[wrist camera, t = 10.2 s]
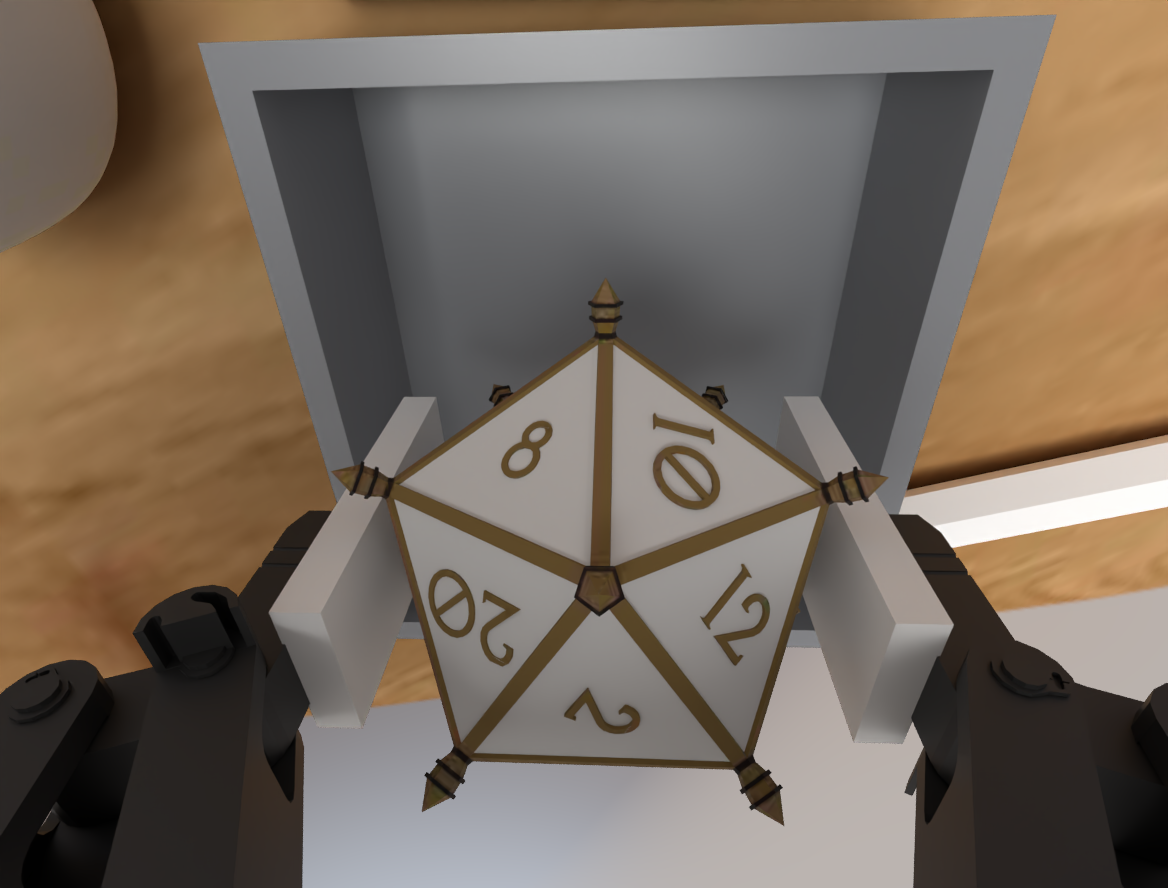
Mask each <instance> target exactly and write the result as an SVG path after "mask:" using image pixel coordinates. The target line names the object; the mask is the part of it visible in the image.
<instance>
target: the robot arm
mask: <svg viewBox="0 0 1168 888" xmlns="http://www.w3.org/2000/svg"><path fill="white" fill-rule="evenodd" d="M442 443H444V439H443V433H442V427H441V421H440V416H439V410H438V404H437V398H436V397H404V398H403V400H402V401H401V403H400V404H399V406H398V408H397V409H396V411H395V412H394V414H393V415H392V417H391V419H390V420H389V422H388V423H387V425H386V427H385V428H384V430H383V431H382V433H381V435H380V436H379V438H378V439H377V441H376V442H375V444H374V446H373V447H372V449H371V450H370V452H369V454H368V455H367V457H366V458H365V460H364V462H365V463H364V466H367V467H370V468H372V469H375V466H376V467H378V468H379V472H381V473H382V474H384V475H385V476H387V477H389V478H394V477H396V476H397V475H398V474H400V473H401V472H403V471H404V470H406V469H407V468H408V467H410V466H411V465H413V464H414V463H415V462H417V461H418V460H420V459H421V458H423V457H424V456H425V455H427V454H428V453H430V452H431V451H432V450H434V449H435V448H437V447H438V446H440V445H441V444H442ZM775 450H777V451H778V452H780V453H781V454H782V455H784V456H785V457H787V458H788V459H789V460H791V461H792V462H794V463H795V464H796V465H798V466H799V467H801V468H802V469H803V470H805V471H806V472H808V473H809V474H810V475H812V476H813V477H815V478H816V479H817V480H819V481H820V482H829V481H831V480H832V479H834V478H836V477H837V476H838V472H842V474H845V473H848V472H851V471H853V467H855V466H857V468H858V470H862V469H861V468H860V466H859V464H858V463H857V461H856V459H855V457H854V456H853V454H852V452H851V451H850V449H849V447H848V446H847V444H846V442H845V441H844V439H843V437H842V436H841V434H840V432H839V431H838V429H837V427H836V425H835V424H834V422H833V420H832V419H831V417H830V415H829V414H828V412H827V410H826V409H825V407H824V405H823V404H822V402H821V400H820V399H819V397H818V396H784V400H783V406H782V412H781V418H780V424H779V430H778V436H777V442H776V448H775ZM349 493H350V492H349V490H348V489H346V490H345V492H344V493H343V495H342V496H341V498H340V500H339V501H338V503H337V504H336V506H335V508H334V509H333V511H308V512H307V513H306V514H304V515H303V516H302V517H300V518H299V519H298V520H296V521H295V522H294V523H292V524H291V525H290V526H289V527H287V528H286V530H285V531H284V533H283V534H282V536H281V537H280V538H279V540H278V541H277V543H276V544H275V546H274V547H273V548H274V550H273V551H270V553H269V554H268V555H267V557H266V558H265V560H264V561H263V563H262V567H259V568H258V570H257V571H256V573H255V574H254V575H253V577H252V578H251V580H250V581H249V582H248V584H247V585H246V587H245V588H244V590H243V591H242V592H241V594H240V595H239V597H237V595H236V594H235V593H234V592H232V591H231V590H230V589H229V588H227V587H221V586H216V585H209V586H201V587H194V588H191V589H188V590H185V591H183V592H180V593H177V594H174V595H173V596H171V597H169V598H167V599H166V600H164V601H162V602H161V603H159V604H157V605H156V606H155V607H153V608H152V609H151V610H150V611H149V612H148V613H147V614H146V615H145V616H144V617H143V618H142V619H141V620H140V622H139V623H138V625H137V627H136V628H135V630H134V632H133V635H134V637H135V638H136V640H137V641H138V643H139V645H140V646H141V648H142V650H143V651H144V653H145V654H146V656H147V658H148V659H149V661H150V663H151V664H152V666H153V667H152V668H147V669H143V670H139V671H135V672H131V673H126V674H122V675H118V676H114V677H110V678H105V679H104V678H103V677H102V676H101V674H100V673H99V671H98V670H97V668H96V667H95V666H93V665H92V664H90V663H88V662H87V661H83V660H66V661H62V662H58V663H54V664H50V665H47V666H45V667H43V668H40V669H38V670H36V671H34V672H32V673H29V674H27V675H26V676H24V677H23V678H21V679H20V680H18V681H17V682H15V683H14V684H12V685H11V686H9V687H8V688H6V689H5V690H4V691H3V692H2V693H1V694H0V888H302V864H303V863H302V861H303V860H302V859H303V784H304V781H303V780H304V746H303V741H302V737H301V734H300V732H299V730H298V728H299V726H300V724H301V722H302V720H303V718H304V716H305V714H306V711H307V709H308V707H309V708H310V710H311V712H312V715H313V717H314V719H315V722H316V724H317V726H318V727H331V728H363V726H364V723H365V720H366V718H367V715H368V713H369V710H370V707H371V705H372V702H373V699H374V697H375V694H376V692H377V689H378V686H379V684H380V681H381V678H382V676H383V673H384V670H385V668H386V665H387V663H388V660H389V657H390V655H391V652H392V649H393V647H394V644H395V642H396V639H397V636H398V634H399V631H400V628H401V626H402V623H403V621H404V618H405V615H406V613H407V610H408V607H409V605H410V602H411V599H412V597H413V596H412V592H411V589H410V585H409V582H408V578H407V574H406V571H405V567H404V564H403V560H402V556H401V553H400V549H399V545H398V542H397V538H396V535H395V531H394V527H393V524H392V520H391V517H390V513H389V509H388V506H387V502H386V500H385V499H384V498H382V497H369V498H368V499H364V496H363V495H359V494H355V493H354V494H353V496H351V495H349ZM868 499H869V502H865V501H864V500H860V501H855V502H853V505H850V506H849V505H848V504H847V503H833V504H831V505H829V509H828V512H827V515H826V518H825V522H824V525H823V528H822V532H821V535H820V538H819V541H818V545H817V548H816V551H815V554H814V558H813V561H812V564H811V567H810V571H809V574H808V577H807V580H806V584H805V587H804V590H803V597H804V600H805V603H806V606H807V609H808V611H809V614H810V617H811V620H812V623H813V626H814V629H815V632H816V635H817V638H818V640H819V643H820V646H821V649H822V652H823V655H824V658H825V661H826V664H827V667H828V669H829V672H830V675H831V678H832V681H833V684H834V687H835V690H836V692H837V695H838V698H839V701H840V704H841V707H842V710H843V713H844V715H845V719H846V722H847V724H848V727H849V730H850V733H851V736H852V739H853V742H859V743H861V742H862V743H894V744H895V743H897V744H902V743H903V742H904V739H905V737H906V735H907V732H908V730H909V728H910V726H911V723H912V721H913V723H914V726H915V728H916V730H917V732H918V734H919V737H920V739H921V741H922V744H923V746H924V748H923V750H922V752H921V755H920V757H919V759H918V761H917V763H916V765H915V768H914V769H913V772H912V774H911V776H910V778H909V780H908V783H907V786H906V790H905V793H907V794H909V795H913V793H914V791H915V789H916V787H917V791H916V821H915V853H914V884H913V885H914V886H913V888H1168V683H1165V684H1164V685H1162V686H1160V687H1158V688H1156V689H1154V690H1153V691H1152V692H1151V694H1150V695H1149V696H1148V698H1147V699H1146V701H1145V702H1142V701H1138V700H1134V699H1131V698H1127V697H1123V696H1120V695H1116V694H1112V693H1108V692H1104V691H1101V690H1097V689H1093V688H1090V687H1086V686H1083V685H1080V684H1077V683H1075V682H1074V680H1073V678H1072V677H1071V676H1070V675H1069V674H1068V673H1067V672H1066V671H1065V670H1064V669H1063V668H1062V666H1061V665H1060V664H1059V663H1058V662H1056V661H1055V660H1053V659H1052V658H1050V657H1049V656H1047V655H1046V654H1044V653H1043V652H1041V651H1040V650H1038V649H1036V648H1033V647H1031V646H1028V645H1026V644H1024V643H1021V642H1018V641H1015V640H1014V638H1013V637H1012V635H1011V634H1010V632H1009V631H1008V629H1007V628H1006V626H1005V625H1004V624H1003V622H1002V621H1001V619H1000V618H999V616H998V615H997V613H996V612H995V610H994V609H993V607H992V606H991V604H990V603H989V602H988V600H987V599H986V597H985V596H984V594H983V593H982V591H981V590H980V588H979V587H978V585H977V584H976V583H975V581H974V580H973V578H972V577H971V575H968V574H967V572H968V571H967V569H966V568H965V566H964V565H963V563H962V562H961V561H960V559H959V558H956V553H955V552H954V550H953V549H952V547H951V546H950V544H949V543H948V542H947V540H946V539H945V537H944V536H943V534H942V533H941V532H940V531H939V530H937V529H936V528H935V527H933V526H932V525H931V524H929V523H928V522H927V521H926V520H924V519H923V518H922V517H920V516H919V515H918V514H888V513H887V511H886V510H885V508H884V506H883V505H882V503H881V501H880V500H879V498H878V496H877V495H876V493H875V492H874V493H873V494H872V495H871V496H870V497H869V498H868ZM50 811H51V813H50V815H49V816H48V814H49V812H50ZM47 816H48V818H47V820H46V822H45V823H44V824H43V822H44V821H45V819H46V817H47ZM42 824H43V825H42Z"/></svg>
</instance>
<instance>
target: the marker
mask: <svg viewBox="0 0 1168 888" xmlns="http://www.w3.org/2000/svg"><path fill="white" fill-rule="evenodd" d="M1163 507H1168V435H1164V436H1159V437H1155V438H1150V439H1145V440H1141V441H1136V442H1131V443H1126V444H1122V445H1117V446H1112V447H1108V448H1103V449H1098V450H1093V451H1089V452H1084V453H1079V454H1075V455H1070V456H1065V457H1060V458H1056V459H1051V460H1046V461H1042V462H1037V463H1032V464H1028V465H1023V466H1018V467H1013V468H1009V469H1004V470H999V471H995V472H990V473H985V474H980V475H976V476H971V477H966V478H962V479H957V480H952V481H947V482H943V483H938V484H933V485H929V486H924V487H919V488H915V489H910V490H906V493H905V496H904V499H903V502H902V506H901V509H900V512H899V514H918V515H919V516H920V517H922V518H923V519H924V520H926V521H927V522H928V523H929V524H931V525H932V526H933V527H935V528H936V529H937V530H939V531H940V532H941V533H942V534H943V536H944V537H945V539H946V540H947V542H948V543H949V544H950V546H951V547H952V548H954V547H959V546H964V545H969V544H975V543H980V542H985V541H990V540H996V539H1001V538H1006V537H1011V536H1016V535H1022V534H1027V533H1032V532H1037V531H1043V530H1048V529H1053V528H1058V527H1064V526H1069V525H1074V524H1079V523H1085V522H1090V521H1095V520H1100V519H1106V518H1111V517H1116V516H1121V515H1126V514H1132V513H1137V512H1142V511H1147V510H1153V509H1158V508H1163Z"/></svg>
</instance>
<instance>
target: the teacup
mask: <svg viewBox="0 0 1168 888" xmlns="http://www.w3.org/2000/svg"><path fill="white" fill-rule="evenodd" d="M117 119H118V112H117V86H116V80H115V73H114V66H113V62H112V58H111V54H110V50H109V46H108V43H107V39H106V36H105V33H104V29H103V26H102V23H101V20H100V17H99V15H98V12H97V10H96V8H95V6H94V3H93V1H92V0H0V252H3V251H5V250H7V249H9V248H11V247H14V246H16V245H18V244H20V243H22V242H24V241H26V240H28V239H30V238H32V237H34V236H36V235H38V234H40V233H41V232H43V231H45V230H46V229H48V228H50V227H52V226H53V225H55V224H56V223H58V222H59V221H60V220H62V219H63V218H65V217H66V216H68V215H69V214H70V213H72V212H73V211H75V210H76V209H77V208H78V207H79V206H80V205H81V204H82V203H83V202H84V201H85V200H86V198H87V197H88V196H89V195H90V194H91V192H92V191H93V190H94V188H95V187H96V185H97V184H98V182H99V181H100V179H101V177H102V175H103V173H104V171H105V169H106V166H107V164H108V161H109V158H110V156H111V153H112V150H113V147H114V142H115V135H116V128H117Z"/></svg>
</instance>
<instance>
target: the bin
mask: <svg viewBox="0 0 1168 888" xmlns="http://www.w3.org/2000/svg"><path fill="white" fill-rule="evenodd" d="M1055 18H1056V15H1034V16H1004V17H974V18H943V19H913V20H882V21H852V22H821V23H791V24H761V25H730V26H700V27H669V28H639V29H608V30H578V31H548V32H517V33H487V34H456V35H426V36H396V37H365V38H335V39H304V40H274V41H243V42H213V43H198V45H199V48H200V52H201V55H202V58H203V62H204V65H205V68H206V72H207V75H208V78H209V81H210V85H211V88H212V91H213V95H214V98H215V101H216V105H217V108H218V111H219V115H220V118H221V121H222V124H223V128H224V131H225V134H226V138H227V141H228V144H229V148H230V151H231V154H232V158H233V161H234V164H235V167H236V171H237V174H238V177H239V181H240V184H241V187H242V191H243V194H244V197H245V201H246V204H247V207H248V210H249V214H250V217H251V220H252V224H253V227H254V230H255V234H256V237H257V240H258V244H259V247H260V250H261V253H262V257H263V260H264V263H265V267H266V270H267V273H268V277H269V280H270V283H271V287H272V290H273V293H274V296H275V300H276V303H277V306H278V310H279V313H280V316H281V320H282V323H283V326H284V330H285V333H286V336H287V339H288V343H289V346H290V349H291V353H292V356H293V359H294V363H295V366H296V369H297V373H298V376H299V379H300V382H301V386H302V389H303V392H304V396H305V399H306V402H307V406H308V409H309V412H310V416H311V419H312V422H313V425H314V429H315V432H316V435H317V439H318V442H319V445H320V449H321V452H322V455H323V459H324V462H325V465H326V468H327V472H328V475H329V478H330V482H331V485H332V488H333V492H334V495H335V498H336V502H337V503H338V501H339V500H340V498H341V496H342V495H343V493H344V492H345V490H346V489H347V488H346V487H345V486H344V485H343V484H342V483H341V482H340V481H339V480H338V479H337V478H336V477H335V475H334V474H333V473H332V472H331V471H334V470H338V469H343V468H347V467H351V466H355V465H359V464H360V463H361V461H363V462H364V460H365V458H366V457H367V455H368V454H369V452H370V450H371V449H372V447H373V446H374V444H375V442H376V441H377V439H378V438H379V436H380V435H381V433H382V431H383V430H384V428H385V427H386V425H387V423H388V422H389V420H390V419H391V417H392V415H393V414H394V412H395V411H396V409H397V408H398V406H399V404H400V403H401V401H402V400H403V398H404V397H436V398H437V404H438V410H439V416H440V421H441V427H442V433H443V439H444V442H445V441H447V440H448V439H449V438H451V437H452V436H454V435H455V434H456V433H458V432H459V431H461V430H462V429H464V428H465V427H466V426H468V425H469V424H471V423H472V422H473V421H475V420H476V419H478V418H479V417H481V416H482V415H483V414H485V413H486V412H488V411H489V410H490V409H492V408H493V407H494V403H492V402H490V401H489V398H490V396H491V394H492V389H493V384H496V385H501V386H507V385H509V386H510V389H511V392H513V393H514V392H516V391H517V390H519V389H520V388H522V387H523V386H524V385H526V384H527V383H529V382H530V381H531V380H533V379H534V378H536V377H537V376H539V375H540V374H541V373H543V372H544V371H546V370H547V369H548V368H550V367H551V366H553V365H554V364H556V363H557V362H558V361H560V360H561V359H563V358H564V357H565V356H567V355H568V354H570V353H571V352H572V351H574V350H575V349H577V348H578V347H580V346H581V345H582V344H584V343H585V342H587V341H588V340H589V339H591V338H592V337H594V334H595V328H594V324H593V321H591V320H589V316H591V315H592V311H591V306H590V305H588V301H592V299H593V298H594V296H595V294H596V293H597V291H598V289H599V288H600V286H601V284H602V283H603V281H604V279H605V278H606V279H607V280H608V282H609V284H610V285H611V287H612V289H613V290H614V292H615V293H616V295H617V297H618V298H619V300H620V301H624V302H623V305H621V306H620V316H622V320H620V321H619V322H618V325H617V328H616V335H617V337H619V338H620V339H622V340H623V341H624V342H626V343H627V344H629V345H630V346H631V347H633V348H634V349H636V350H637V351H638V352H640V353H641V354H643V355H644V356H645V357H647V358H648V359H650V360H651V361H652V362H654V363H655V364H657V365H658V366H659V367H661V368H662V369H664V370H665V371H666V372H668V373H669V374H671V375H672V376H673V377H675V378H676V379H677V380H679V381H680V382H682V383H683V384H684V385H686V386H687V387H689V388H690V389H691V390H693V391H694V392H696V393H697V394H698V395H700V396H701V397H702V394H703V393H705V392H706V387H707V386H711V387H715V386H720V385H724V389H725V395H726V397H727V399H728V402H727V403H725V404H723V405H722V406H723V408H722V409H721V411H722V412H724V413H725V414H726V415H728V416H729V417H731V418H732V419H733V420H735V421H736V422H738V423H739V424H740V425H742V426H743V427H745V428H746V429H747V430H749V431H750V432H752V433H753V434H754V435H756V436H757V437H759V438H760V439H761V440H763V441H764V442H766V443H767V444H768V445H770V446H771V447H773V448H774V449H775V448H776V442H777V436H778V430H779V424H780V418H781V412H782V406H783V400H784V396H818V397H819V399H820V400H821V402H822V404H823V405H824V407H825V409H826V410H827V412H828V414H829V415H830V417H831V419H832V420H833V422H834V424H835V425H836V427H837V429H838V431H839V432H840V434H841V436H842V437H843V439H844V441H845V442H846V444H847V446H848V447H849V449H850V451H851V452H852V454H853V456H854V457H855V459H856V461H857V463H858V464H859V466H860V468H861V469H862V471H866V472H870V473H874V474H878V475H882V476H885V477H889V478H888V479H887V480H886V481H885V482H884V483H883V484H882V485H881V486H880V487H879V488H878V489H877V490H876V491H875V493H876V495H877V496H878V498H879V500H880V501H881V503H882V505H883V506H884V508H885V510H886V511H887V513H888V514H899V512H900V509H901V506H902V502H903V499H904V496H905V493H906V490H907V487H908V483H909V480H910V477H911V474H912V471H913V468H914V464H915V461H916V458H917V455H918V452H919V449H920V445H921V442H922V439H923V436H924V433H925V430H926V426H927V423H928V420H929V417H930V414H931V411H932V407H933V404H934V401H935V398H936V395H937V392H938V388H939V385H940V382H941V379H942V376H943V373H944V369H945V366H946V363H947V360H948V357H949V354H950V350H951V347H952V344H953V341H954V338H955V335H956V331H957V328H958V325H959V322H960V319H961V316H962V312H963V309H964V306H965V303H966V300H967V297H968V293H969V290H970V287H971V284H972V281H973V278H974V274H975V271H976V268H977V265H978V262H979V259H980V255H981V252H982V249H983V246H984V243H985V240H986V237H987V233H988V230H989V227H990V224H991V221H992V218H993V214H994V211H995V208H996V205H997V202H998V199H999V195H1000V192H1001V189H1002V186H1003V183H1004V180H1005V176H1006V173H1007V170H1008V167H1009V164H1010V161H1011V157H1012V154H1013V151H1014V148H1015V145H1016V142H1017V138H1018V135H1019V132H1020V129H1021V126H1022V123H1023V119H1024V116H1025V113H1026V110H1027V107H1028V104H1029V100H1030V97H1031V94H1032V91H1033V88H1034V85H1035V81H1036V78H1037V75H1038V72H1039V69H1040V66H1041V62H1042V59H1043V56H1044V53H1045V50H1046V47H1047V43H1048V40H1049V37H1050V34H1051V31H1052V28H1053V24H1054V21H1055ZM798 608H799V609H800V611H801V612H799V613H798V614H796V616H795V620H794V623H793V626H792V629H791V633H790V636H789V639H788V642H787V646H786V647H804V648H821V646H820V643H819V640H818V638H817V635H816V632H815V629H814V626H813V623H812V620H811V617H810V614H809V611H808V609H807V606H806V603H805V600H804V597H803V594H802V597H801V600H800V603H799V607H798ZM397 638H398V639H424V636H423V632H422V629H421V625H420V621H419V618H418V614H417V611H416V607H415V603H414V600H413V597H412V599H411V602H410V605H409V607H408V610H407V613H406V615H405V618H404V621H403V623H402V626H401V628H400V631H399V634H398V636H397Z"/></svg>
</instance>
